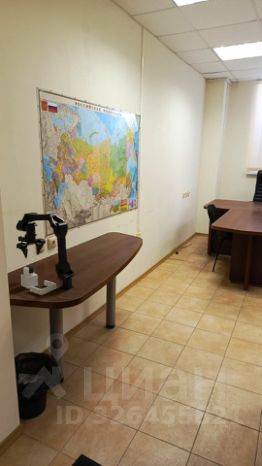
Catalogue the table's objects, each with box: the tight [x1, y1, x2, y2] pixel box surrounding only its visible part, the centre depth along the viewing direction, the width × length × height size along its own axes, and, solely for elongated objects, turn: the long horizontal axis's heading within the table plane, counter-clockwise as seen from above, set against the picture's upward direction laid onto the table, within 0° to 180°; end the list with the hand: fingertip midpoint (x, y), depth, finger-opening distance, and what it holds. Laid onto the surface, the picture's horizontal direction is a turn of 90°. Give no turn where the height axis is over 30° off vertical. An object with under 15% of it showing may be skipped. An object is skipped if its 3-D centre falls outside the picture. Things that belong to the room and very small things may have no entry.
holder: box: [29, 279, 57, 296], centre depth 184 cm, size 9×12×3 cm
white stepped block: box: [20, 265, 39, 290], centre depth 189 cm, size 7×7×12 cm
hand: (32, 256), depth 199 cm, fingers open, 9 cm apart
